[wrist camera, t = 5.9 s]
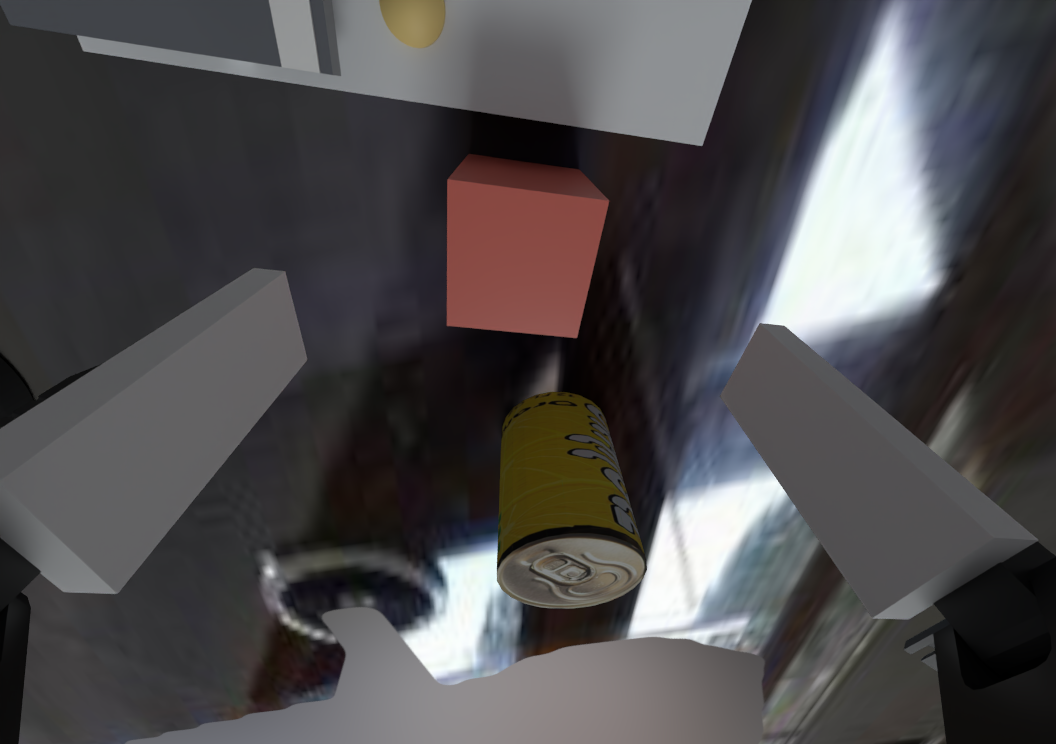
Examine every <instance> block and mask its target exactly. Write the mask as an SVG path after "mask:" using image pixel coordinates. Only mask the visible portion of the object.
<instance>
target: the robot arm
mask: <svg viewBox="0 0 1056 744" xmlns="http://www.w3.org/2000/svg"><path fill="white" fill-rule="evenodd" d="M306 361H307V356H306V352H305V348H304V344H303V340H302V336H301V332H300V328H299V325H298V321H297V317H296V313H295V309H294V305H293V301H292V297H291V293H290V289H289V285H288V281H287V277H286V273H285V271H276V270H267V269H258V268H253V269H251V270H250V271H248V272H247V273H245V274H243V275H242V276H240V277H239V278H237V279H236V280H234V281H232V282H231V283H229V284H228V285H226V286H225V287H223V288H221V289H220V290H218V291H217V292H215V293H214V294H212V295H210V296H209V297H207V298H206V299H204V300H202V301H201V302H199V303H198V304H196V305H195V306H193V307H191V308H190V309H188V310H187V311H185V312H184V313H182V314H180V315H179V316H177V317H176V318H174V319H172V320H171V321H169V322H168V323H166V324H165V325H163V326H161V327H160V328H158V329H157V330H155V331H154V332H152V333H150V334H149V335H147V336H146V337H144V338H143V339H141V340H139V341H138V342H136V343H135V344H133V345H131V346H130V347H128V348H127V349H125V350H124V351H122V352H120V353H119V354H117V355H116V356H114V357H113V358H111V359H109V360H108V361H106V362H105V363H103V364H101V365H98V366H95V367H93V368H90V369H88V370H85V371H83V372H80V373H78V374H75V375H73V376H70V377H68V378H67V379H65V380H64V381H62V382H60V383H59V384H57V385H55V386H54V387H52V388H51V389H49V390H47V391H46V392H44V393H42V394H41V395H39V396H38V397H39V399H38V400H33V398H32V396H31V394H30V392H29V390H28V389H27V387H26V386H25V384H24V383H23V381H22V380H21V379H20V377H19V376H18V375H17V374H16V373H15V372H14V370H13V369H12V368H11V367H10V366H9V365H8V364H7V363H6V362H5V361H4V360H3V359H2V358H0V744H18V742H19V732H20V721H21V710H22V699H23V688H24V677H25V666H26V655H27V644H28V634H29V623H30V612H31V607H30V604H29V601H28V597H27V596H25V595H24V594H23V593H21V591H22V590H23V589H24V588H25V587H26V586H27V585H28V584H29V583H30V582H31V581H32V580H33V579H34V578H35V577H36V576H37V575H38V574H39V573H41V574H42V575H43V576H44V577H46V578H47V579H48V580H49V581H51V582H52V583H53V584H54V585H56V586H57V587H58V588H59V589H60V590H62V591H63V592H76V593H107V594H118V592H119V591H120V590H121V589H122V588H123V586H124V585H125V584H126V583H127V581H128V580H129V579H130V578H131V576H132V575H133V574H134V573H135V572H136V570H137V569H138V568H139V567H140V565H141V564H142V563H143V562H144V560H145V559H146V558H147V557H148V556H149V554H150V553H151V552H152V551H153V549H154V548H155V547H156V546H157V544H158V543H159V542H160V541H161V539H162V538H163V537H164V536H165V535H166V533H167V532H168V531H169V530H170V528H171V527H172V526H173V525H174V523H175V522H176V521H177V520H178V519H179V517H180V516H181V515H182V514H183V512H184V511H185V510H186V509H187V507H188V506H189V505H190V504H191V503H192V501H193V500H194V499H195V498H196V496H197V495H198V494H199V493H200V491H201V490H202V489H203V488H204V486H205V485H206V484H207V483H208V482H209V480H210V479H211V478H212V477H213V475H214V474H215V473H216V472H217V470H218V469H219V468H220V467H221V466H222V464H223V463H224V462H225V461H226V459H227V458H228V457H229V456H230V454H231V453H232V452H233V451H234V450H235V448H236V447H237V446H238V445H239V443H240V442H241V441H242V440H243V438H244V437H245V436H246V435H247V433H248V432H249V431H250V430H251V429H252V427H253V426H254V425H255V424H256V422H257V421H258V420H259V419H260V417H261V416H262V415H263V414H264V413H265V411H266V410H267V409H268V408H269V406H270V405H271V404H272V403H273V401H274V400H275V399H276V398H277V397H278V395H279V394H280V393H281V392H282V390H283V389H284V388H285V387H286V385H287V384H288V383H289V382H290V380H291V379H292V378H293V377H294V376H295V374H296V373H297V372H298V371H299V369H300V368H301V367H302V366H303V364H304V363H305V362H306ZM720 397H721V399H722V400H723V401H724V403H725V404H726V406H727V407H728V409H729V410H730V412H731V413H732V415H733V416H734V417H735V419H736V420H737V422H738V423H739V425H740V426H741V428H742V429H743V431H744V432H745V434H746V435H747V436H748V438H749V439H750V441H751V442H752V444H753V445H754V447H755V448H756V450H757V451H758V452H759V454H760V455H761V457H762V458H763V460H764V461H765V463H766V464H767V466H768V467H769V468H770V470H771V471H772V473H773V474H774V476H775V477H776V479H777V480H778V482H779V483H780V484H781V486H782V487H783V489H784V490H785V492H786V493H787V495H788V496H789V498H790V499H791V500H792V502H793V503H794V505H795V506H796V508H797V509H798V511H799V512H800V514H801V515H802V517H803V518H804V519H805V521H806V522H807V524H808V525H809V527H810V528H811V530H812V531H813V533H814V534H815V535H816V537H817V538H818V540H819V541H820V543H821V544H822V546H823V547H824V549H825V550H826V551H827V553H828V554H829V556H830V557H831V559H832V560H833V562H834V563H835V565H836V566H837V567H838V569H839V570H840V572H841V573H842V575H843V576H844V578H845V579H846V581H847V582H848V584H849V585H850V586H851V588H852V589H853V591H854V592H855V594H856V595H857V597H858V598H859V600H860V601H861V602H862V604H863V605H864V607H865V608H866V610H867V611H868V613H869V614H870V616H871V617H872V618H879V619H910V618H912V617H913V616H915V615H917V614H918V613H920V612H922V611H923V610H925V609H927V608H928V607H930V606H932V605H933V604H934V605H935V606H936V607H937V608H938V610H939V611H940V612H941V613H942V614H943V616H944V617H945V618H946V619H944V620H943V621H941V622H939V623H937V624H935V625H934V626H932V627H930V628H928V629H927V630H925V631H923V632H921V633H919V634H918V635H916V636H914V637H912V638H911V639H909V640H907V641H906V643H905V647H904V650H905V651H907V652H908V653H910V654H912V653H914V652H916V651H918V650H920V649H922V648H924V647H925V646H929V647H932V648H935V651H933V652H931V653H929V654H928V655H926V656H924V657H923V658H922V659H921V661H922V662H924V663H925V664H927V665H929V666H930V667H932V668H933V669H935V670H936V671H938V678H939V686H940V694H941V702H942V710H943V718H944V726H945V734H946V742H947V744H1056V556H1055V555H1054V554H1052V553H1051V552H1050V551H1048V550H1047V549H1046V548H1045V547H1043V546H1042V545H1041V544H1040V543H1039V542H1037V541H1038V539H1037V538H1036V537H1034V536H1033V535H1032V534H1031V533H1030V532H1028V531H1027V530H1026V529H1025V528H1024V527H1022V526H1021V525H1020V524H1019V523H1018V522H1017V521H1015V520H1014V519H1013V518H1012V517H1011V516H1009V515H1008V514H1007V513H1006V512H1005V511H1003V510H1002V509H1001V508H1000V507H999V506H998V505H996V504H995V503H994V502H993V501H992V500H990V499H989V498H988V497H987V496H986V495H984V494H983V493H982V492H981V491H980V490H979V489H977V488H976V487H975V486H974V485H973V484H971V483H970V482H969V481H968V480H967V479H965V478H964V477H963V476H962V475H961V474H960V473H958V472H957V471H956V470H955V469H954V468H952V467H951V466H950V465H949V464H948V463H946V462H945V461H944V460H943V459H942V458H941V457H939V456H938V455H937V454H936V453H935V452H933V451H932V450H931V449H930V448H929V447H927V446H926V445H925V444H924V443H923V442H922V441H920V440H919V439H918V438H917V437H916V436H914V435H913V434H912V433H911V432H910V431H908V430H907V429H906V428H905V427H904V426H903V425H901V424H900V423H899V422H898V421H897V420H895V419H894V418H893V417H892V416H891V415H889V414H888V413H887V412H886V411H885V410H884V409H882V408H881V407H880V406H879V405H878V404H876V403H875V402H874V401H873V400H872V399H870V398H869V397H868V396H867V395H866V394H865V393H863V392H862V391H861V390H860V389H859V388H857V387H856V386H855V385H854V384H853V383H851V382H850V381H849V380H848V379H847V378H846V377H844V376H843V375H842V374H841V373H840V372H838V371H837V370H836V369H835V368H834V367H832V366H831V365H830V364H829V363H828V362H827V361H825V360H824V359H823V358H822V357H821V356H819V355H818V354H817V353H816V352H815V351H813V350H812V349H811V348H810V347H809V346H808V345H806V344H805V343H804V342H803V341H802V340H800V339H799V338H798V337H797V336H796V335H794V334H793V333H792V332H791V331H790V330H789V329H787V328H786V327H785V326H780V325H771V324H762V323H760V324H759V326H758V327H757V329H756V331H755V333H754V335H753V337H752V338H751V340H750V342H749V344H748V346H747V348H746V349H745V351H744V353H743V355H742V357H741V359H740V360H739V362H738V364H737V366H736V368H735V370H734V372H733V373H732V375H731V377H730V379H729V381H728V383H727V384H726V386H725V388H724V390H723V392H722V394H721V395H720Z"/></svg>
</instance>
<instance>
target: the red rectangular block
mask: <svg viewBox="0 0 1056 744" xmlns="http://www.w3.org/2000/svg"><path fill="white" fill-rule="evenodd" d="M608 204H609V200H608V199H607V198H606V197H605V196H604V195H603V194H602V193H601V192H600V191H599V190H598V189H597V188H596V186H595V185H594V184H593V183H592V182H591V181H590V180H589V179H588V178H587V177H586V176H585V175H584V174H583V173H582V172H581V171H580V170H579V169H573V168H566V167H559V166H552V165H545V164H537V163H530V162H523V161H516V160H509V159H502V158H495V157H488V156H481V155H474V154H468V155H467V157H466V158H465V159H464V160H463V161H462V163H461V164H460V165H459V166H458V167H457V169H456V170H455V171H454V172H453V173H452V174H451V176H450V177H449V178H448V184H447V326H456V327H467V328H477V329H487V330H498V331H508V332H518V333H529V334H539V335H549V336H560V337H570V338H577V336H578V332H579V327H580V323H581V319H582V315H583V310H584V306H585V302H586V298H587V293H588V289H589V285H590V281H591V276H592V272H593V268H594V264H595V259H596V255H597V251H598V247H599V242H600V238H601V234H602V230H603V225H604V221H605V217H606V213H607V208H608Z"/></svg>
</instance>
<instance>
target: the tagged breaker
mask: <svg viewBox="0 0 1056 744" xmlns="http://www.w3.org/2000/svg"><path fill="white" fill-rule="evenodd" d="M0 5H1V7H2V9H3V11H4V13H5V15H6V17H7V19H8V21H9V23H10V25H14V26H21V27H27V28H34V29H40V30H47V31H53V32H59V33H66V34H72V35H79V36H85V37H91V38H98V39H104V40H111V41H117V42H124V43H130V44H136V45H143V46H149V47H156V48H162V49H168V50H175V51H181V52H188V53H194V54H201V55H207V56H213V57H220V58H226V59H233V60H239V61H246V62H252V63H258V64H265V65H271V66H278V67H284V68H290V69H297V70H303V71H310V72H316V73H323V74H329V75H336V76H341V70H340V62H339V54H338V46H337V38H336V30H335V22H334V14H333V6H332V0H0Z"/></svg>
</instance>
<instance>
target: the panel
mask: <svg viewBox="0 0 1056 744" xmlns="http://www.w3.org/2000/svg"><path fill="white" fill-rule="evenodd" d="M751 1H752V0H332V6H333V14H334V22H335V30H336V38H337V46H338V54H339V62H340V70H341V76H336V75H329V74H323V73H316V72H310V71H303V70H297V69H290V68H284V67H278V66H271V65H265V64H258V63H252V62H246V61H239V60H233V59H226V58H220V57H213V56H207V55H201V54H194V53H188V52H181V51H175V50H168V49H162V48H156V47H149V46H143V45H136V44H130V43H124V42H117V41H111V40H104V39H98V38H91V37H85V36H79V35H77V37H78V39H79V42H80V44H81V46H82V49H83V51H86V52H92V53H99V54H105V55H112V56H118V57H125V58H132V59H138V60H145V61H151V62H158V63H164V64H171V65H177V66H184V67H190V68H197V69H203V70H210V71H216V72H223V73H229V74H236V75H243V76H249V77H256V78H262V79H269V80H275V81H282V82H288V83H295V84H301V85H308V86H314V87H321V88H327V89H334V90H340V91H347V92H353V93H360V94H367V95H373V96H380V97H386V98H393V99H399V100H406V101H412V102H419V103H425V104H432V105H438V106H445V107H451V108H458V109H464V110H471V111H478V112H484V113H491V114H497V115H504V116H510V117H517V118H523V119H530V120H536V121H543V122H549V123H556V124H562V125H569V126H575V127H582V128H589V129H595V130H602V131H608V132H615V133H621V134H628V135H634V136H641V137H647V138H654V139H660V140H667V141H673V142H680V143H686V144H693V145H700V146H702V145H703V142H704V139H705V136H706V133H707V130H708V127H709V124H710V121H711V118H712V116H713V113H714V110H715V107H716V104H717V101H718V98H719V95H720V92H721V89H722V86H723V83H724V80H725V77H726V74H727V71H728V69H729V66H730V63H731V60H732V57H733V54H734V51H735V48H736V45H737V42H738V39H739V36H740V33H741V30H742V27H743V25H744V22H745V19H746V16H747V13H748V10H749V7H750V4H751Z"/></svg>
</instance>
